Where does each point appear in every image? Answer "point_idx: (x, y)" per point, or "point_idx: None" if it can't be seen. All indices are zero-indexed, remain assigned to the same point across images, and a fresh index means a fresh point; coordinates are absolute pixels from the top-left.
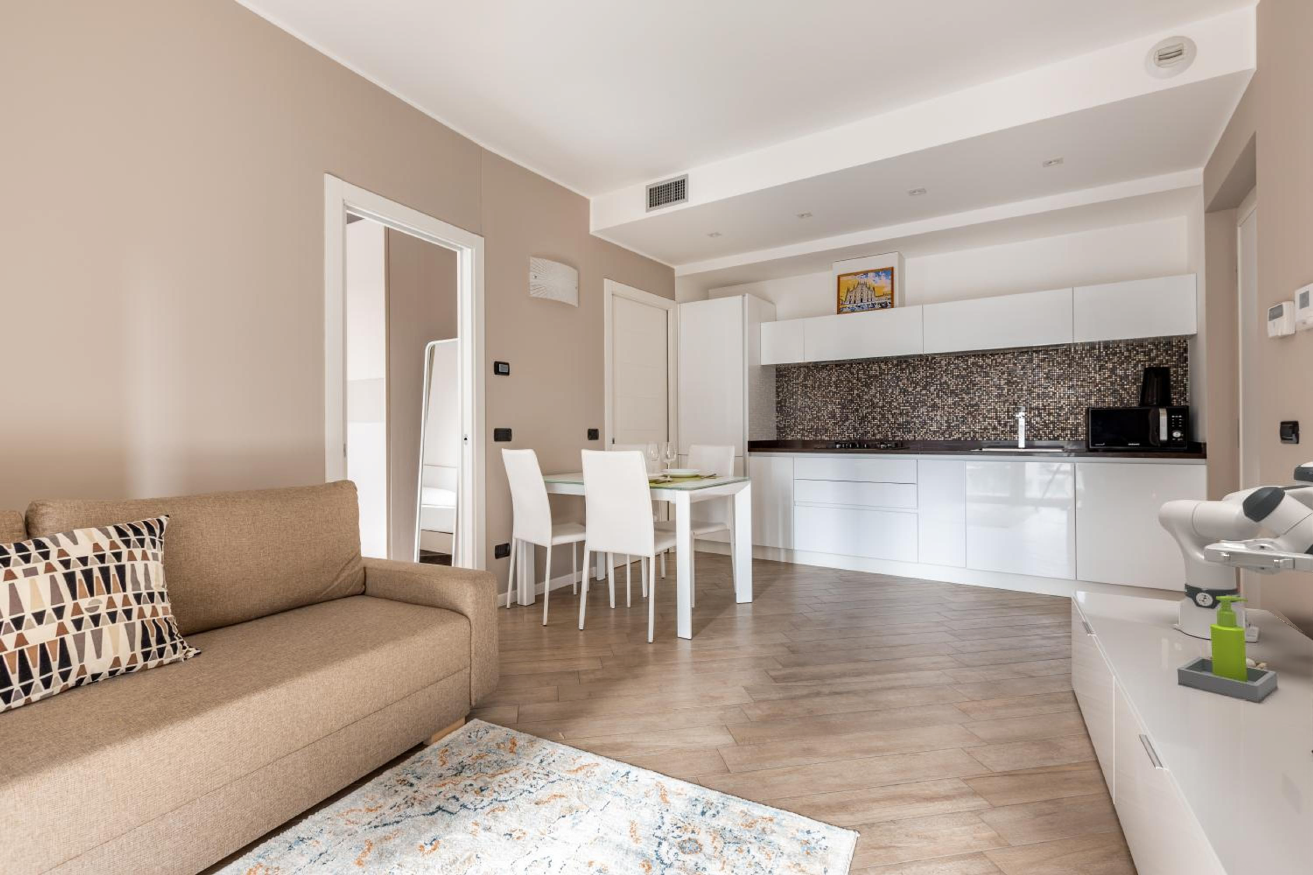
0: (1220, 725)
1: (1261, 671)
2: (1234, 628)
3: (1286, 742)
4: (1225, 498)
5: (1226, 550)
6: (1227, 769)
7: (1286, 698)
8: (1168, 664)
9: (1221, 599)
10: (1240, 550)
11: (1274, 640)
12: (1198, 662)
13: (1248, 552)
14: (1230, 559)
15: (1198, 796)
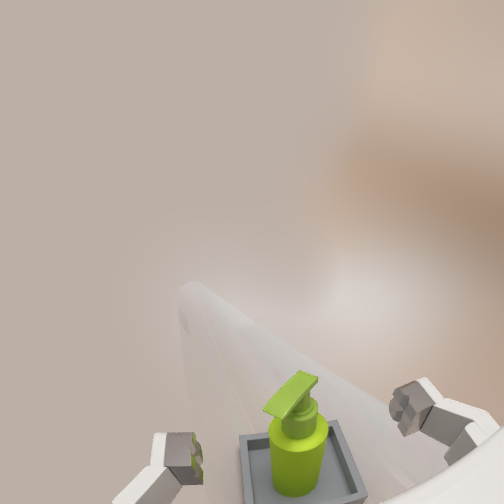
0: (241, 368)
1: None
2: (279, 420)
3: (194, 373)
4: None
5: (489, 437)
6: (213, 320)
7: (224, 490)
8: (405, 488)
9: (299, 371)
10: (445, 481)
11: None
12: (350, 476)
13: (391, 499)
14: (404, 424)
15: (214, 297)
